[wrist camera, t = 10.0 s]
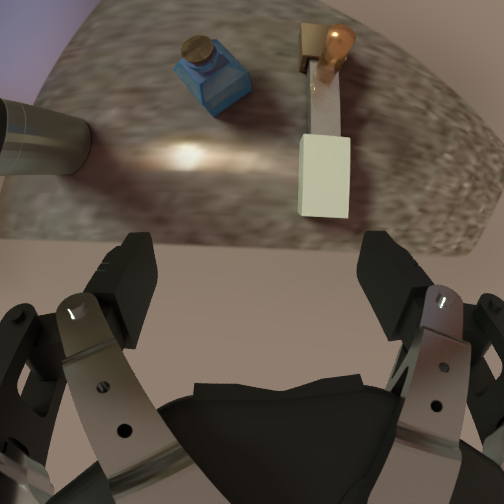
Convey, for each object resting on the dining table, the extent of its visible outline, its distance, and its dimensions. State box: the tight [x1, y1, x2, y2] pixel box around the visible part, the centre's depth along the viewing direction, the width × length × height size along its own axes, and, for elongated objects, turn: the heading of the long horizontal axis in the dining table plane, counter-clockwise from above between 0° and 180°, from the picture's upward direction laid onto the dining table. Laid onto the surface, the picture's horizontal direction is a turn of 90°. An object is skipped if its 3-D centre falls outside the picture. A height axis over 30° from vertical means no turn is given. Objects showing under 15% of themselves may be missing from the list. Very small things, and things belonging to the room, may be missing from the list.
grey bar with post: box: [306, 24, 356, 137], centre depth 25 cm, size 3×16×13 cm, turn 179°
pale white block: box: [298, 134, 350, 218], centre depth 32 cm, size 5×9×5 cm, turn 179°
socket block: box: [298, 23, 347, 73], centre depth 29 cm, size 5×5×5 cm
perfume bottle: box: [173, 35, 252, 117], centre depth 27 cm, size 6×6×12 cm
